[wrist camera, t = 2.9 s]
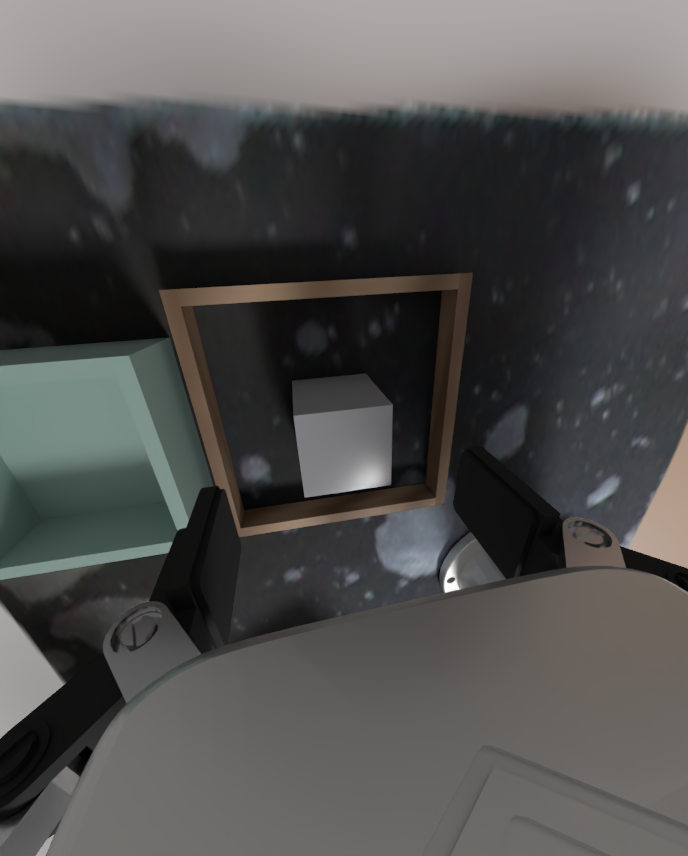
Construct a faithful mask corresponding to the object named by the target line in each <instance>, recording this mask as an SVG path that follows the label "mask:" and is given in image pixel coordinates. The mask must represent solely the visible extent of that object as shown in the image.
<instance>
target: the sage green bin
mask: <svg viewBox="0 0 688 856" xmlns="http://www.w3.org/2000/svg"><path fill="white" fill-rule="evenodd" d="M212 486H213V483H212V479H211V476H210V472H209V469H208V466H207V462H206V459H205V456H204V452H203V449H202V446H201V442H200V439H199V435H198V432H197V429H196V425H195V422H194V419H193V415H192V412H191V409H190V405H189V402H188V399H187V395H186V392H185V388H184V385H183V382H182V378H181V375H180V372H179V368H178V365H177V362H176V358H175V355H174V351H173V348H172V345H171V341H170V338H156V339H143V340H129V341H116V342H103V343H89V344H76V345H62V346H49V347H36V348H22V349H9V350H0V580H3V579H9V578H15V577H21V576H27V575H34V574H40V573H46V572H52V571H58V570H65V569H71V568H77V567H83V566H89V565H96V564H102V563H108V562H114V561H121V560H127V559H133V558H139V557H145V556H152V555H158V554H164V553H169V550H170V548H171V545H172V543H173V540H174V537H175V535H176V533H177V531H178V530H179V529H182V528H186V527H187V524H188V521H189V519H190V516H191V513H192V511H193V508H194V505H195V502H196V500H197V497H198V494H199V491H200V489H201V488H205V487H212Z"/></svg>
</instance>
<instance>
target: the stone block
mask: <svg viewBox="0 0 688 856" xmlns="http://www.w3.org/2000/svg"><path fill="white" fill-rule="evenodd" d="M292 392H293V417H294V424H295V431H296V438H297V446H298V453H299V460H300V468H301V475H302V482H303V490H304V497H305V498H306V497H313V496H320V495H327V494H334V493H340V492H347V491H354V490H361V489H368V488H374V487H381V486H388V485H391V463H392V418H393V404H392V403H391V402H390V401H389V400H388V399H387V398H386V396H385V395H384V394H383V393H382V392H381V391H380V389H379V388H378V387H377V386H376V385H375V384H374V382H373V381H372V380H371V379H370V378H369V377H368V376H367V374H356V375H346V376H336V377H325V378H315V379H305V380H295V381H292Z"/></svg>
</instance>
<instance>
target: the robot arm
mask: <svg viewBox="0 0 688 856" xmlns="http://www.w3.org/2000/svg"><path fill="white" fill-rule="evenodd" d="M453 505H454V509H455V511H456V513H457V514H458V515H459V517H460V518H461V519H462V521H463V522H464V523H465V525H466V526H467V527H468V529H469V530H470V531H471V532H470V533H468V534H467V535H466V536H464V537H463V538H462V539H461V540H460V541H458V543H457V544H456V545H455V546H454V547H453V548H452V549H451V550H450V552H449V553H448V555H447V556H446V558H445V559H444V562H443V564H442V566H441V569H440V575H439V580H440V585H441V588H442V590H443V592H444V593H442V594H437V595H433V596H428V597H424V598H419V599H415V600H410V601H406V602H401V603H397V604H392V605H388V606H384V607H379V608H375V609H370V610H366V611H362V612H357V613H353V614H349V615H344V616H340V617H336V618H331V619H327V620H323V621H318V622H314V623H310V624H305V625H301V626H297V627H293V628H289V629H285V630H281V631H276V632H272V633H268V634H264V635H260V636H256V637H252V638H248V639H245V640H242V641H238V642H235V643H232V644H228V639H229V632H230V624H231V617H232V610H233V603H234V595H235V588H236V581H237V574H238V567H239V559H240V552H241V543H240V539H239V535H238V532H237V528H236V525H235V521H234V518H233V515H232V511H231V508H230V504H229V501H228V497H227V494H226V491H225V489H220V488H219V486H212V487H205V488H201V489H200V491H199V494H198V497H197V500H196V502H195V505H194V508H193V511H192V513H191V516H190V519H189V521H188V524H187V527H186V528H182V529H179V530H178V531H177V533H176V535H175V537H174V540H173V543H172V545H171V548H170V550H169V553H168V555H167V558H166V560H165V563H164V565H163V568H162V570H161V573H160V575H159V578H158V580H157V583H156V585H155V588H154V590H153V593H152V595H151V598H150V600H149V601H148V602H144V603H141V604H139V605H136V606H134V607H133V608H131V609H129V610H128V611H126V612H125V613H124V614H123V615H122V616H120V617H119V618H118V619H117V620H116V621H115V623H114V624H113V625H112V626H111V627H110V629H109V631H108V632H107V634H106V636H105V639H104V643H103V653H102V654H101V655H100V656H98V657H97V658H96V659H95V660H94V661H92V662H91V663H90V664H89V665H88V666H86V667H85V668H84V669H83V670H82V671H80V672H79V673H78V674H77V675H76V676H74V677H73V678H72V679H71V680H70V681H68V682H67V683H66V684H65V685H64V686H62V687H61V688H60V689H59V690H58V691H56V692H55V693H54V694H53V695H52V696H51V697H49V698H48V699H47V700H46V701H45V702H43V703H42V704H41V705H40V706H38V707H37V708H36V709H35V710H34V711H32V712H31V713H30V714H29V715H28V716H26V718H24V719H23V720H22V721H20V722H19V723H18V724H17V725H15V726H14V727H13V728H12V729H11V730H9V731H8V732H7V733H6V734H5V735H4V736H3V737H2V738H1V739H0V856H35V855H36V854H37V852H38V851H39V850H40V848H41V847H42V845H43V844H44V842H45V841H46V840H47V838H49V837H51V836H52V835H54V834H55V835H54V837H53V840H52V842H51V845H50V847H49V849H48V852H47V854H46V856H688V569H687V568H684V567H681V566H678V565H675V564H672V563H669V562H666V561H663V560H660V559H657V558H654V557H651V556H648V555H645V554H642V553H639V552H636V551H633V550H630V549H627V548H624V547H621V546H620V545H619V542H618V540H617V538H616V537H615V535H614V534H613V533H612V532H611V531H609V530H608V529H607V528H605V527H604V526H602V525H600V524H598V523H596V522H594V521H591V520H588V519H584V518H569V519H566V520H565V521H562V520H561V519H560V518H559V516H560V513H559V512H558V511H557V510H556V509H554V508H553V507H552V506H551V505H550V504H549V503H547V502H546V501H545V500H544V499H543V498H542V497H540V496H539V495H538V494H537V493H536V492H534V491H533V490H532V489H531V488H530V487H529V486H527V485H526V484H525V483H524V482H523V481H522V480H520V479H519V478H518V477H517V476H516V475H514V474H513V473H512V472H511V471H510V470H509V469H507V468H506V467H505V466H504V465H503V464H502V463H500V462H499V461H498V460H497V459H496V458H494V457H493V456H492V455H491V454H490V453H489V452H487V451H486V450H485V449H484V448H482V447H472V448H467V449H465V451H464V452H463V453H462V454H461V458H460V465H459V471H458V477H457V483H456V489H455V496H454V502H453ZM227 644H228V645H227Z"/></svg>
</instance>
